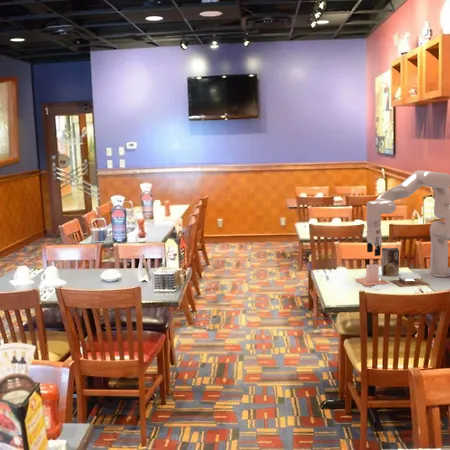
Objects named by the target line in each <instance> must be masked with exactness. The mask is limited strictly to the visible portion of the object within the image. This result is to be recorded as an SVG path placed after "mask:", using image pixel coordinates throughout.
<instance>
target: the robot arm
mask: <svg viewBox="0 0 450 450" xmlns="http://www.w3.org/2000/svg"><path fill="white" fill-rule="evenodd" d="M421 187H428V188H432V190H433V192H434V203H433V214H434V217H436V218H437V219H440V220H435V221H433V222H432V223H431V224H430V227H429V233H430V235H429V236H430V261H429V262H430V264H429V265H430V267H429V270H428V271H426V274H427V275H429V276H433V277H435V278H448V277H450V266H449V267H448V265H449V262H448V261H449V241H450V174H449V173H446V172H437V171H429V170H422V169H419V170H416V171H414V172H413V173H411V174H410V175H409V176H408V177H406V179H405V180H404V181H402V182H401V183H400V184H398V185H395V186H394V187H391V188H389V189H388V190H386V191H384V192H383V193H381V194H380V195H379V196H378V197H377V198H375V200H370V201H367V202H366V236H365V238H366V252H367V253H372V252H374V256H375V257H379V256H382V243H383V238H382V237H383V236H382V227H381V225H382V224H381V223H382V218H381V217H382V214H385V215H390V214H393V213H394V212H395V211H396V209H397V205H396V202H395V201H397V200H401V199H406V198H409V197H411V195H413V194H414V193H416V191H418V190H419V189H420V188H421ZM443 220H444V221H443Z"/></svg>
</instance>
